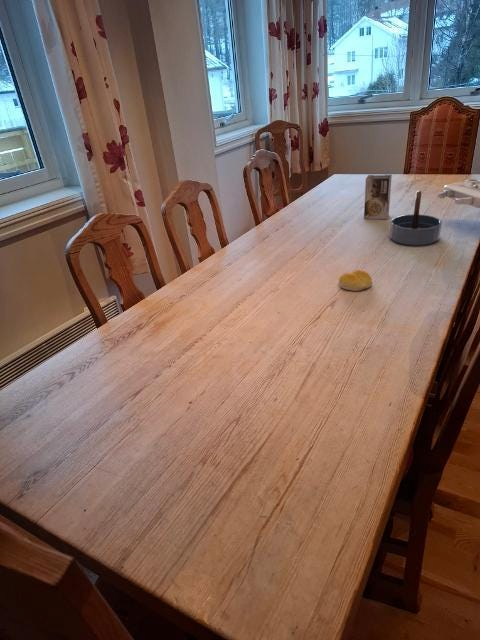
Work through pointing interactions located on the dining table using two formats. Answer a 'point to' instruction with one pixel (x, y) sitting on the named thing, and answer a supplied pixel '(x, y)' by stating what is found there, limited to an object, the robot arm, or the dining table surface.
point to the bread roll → (355, 280)
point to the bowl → (415, 230)
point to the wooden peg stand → (416, 211)
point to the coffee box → (377, 196)
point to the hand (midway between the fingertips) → (447, 198)
